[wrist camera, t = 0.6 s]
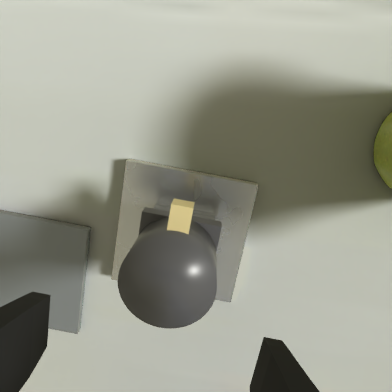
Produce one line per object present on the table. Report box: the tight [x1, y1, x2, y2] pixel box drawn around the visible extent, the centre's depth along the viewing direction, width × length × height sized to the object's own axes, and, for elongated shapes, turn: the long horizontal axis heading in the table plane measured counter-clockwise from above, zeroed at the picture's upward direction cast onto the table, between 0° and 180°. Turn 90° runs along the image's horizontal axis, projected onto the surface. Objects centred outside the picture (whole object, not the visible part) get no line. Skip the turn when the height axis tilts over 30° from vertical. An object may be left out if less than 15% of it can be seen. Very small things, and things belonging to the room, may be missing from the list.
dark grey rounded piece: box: [118, 198, 222, 328], centre depth 16 cm, size 6×4×4 cm
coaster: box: [0, 210, 90, 334], centre depth 22 cm, size 8×8×1 cm
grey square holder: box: [111, 159, 258, 302], centre depth 19 cm, size 8×8×3 cm
